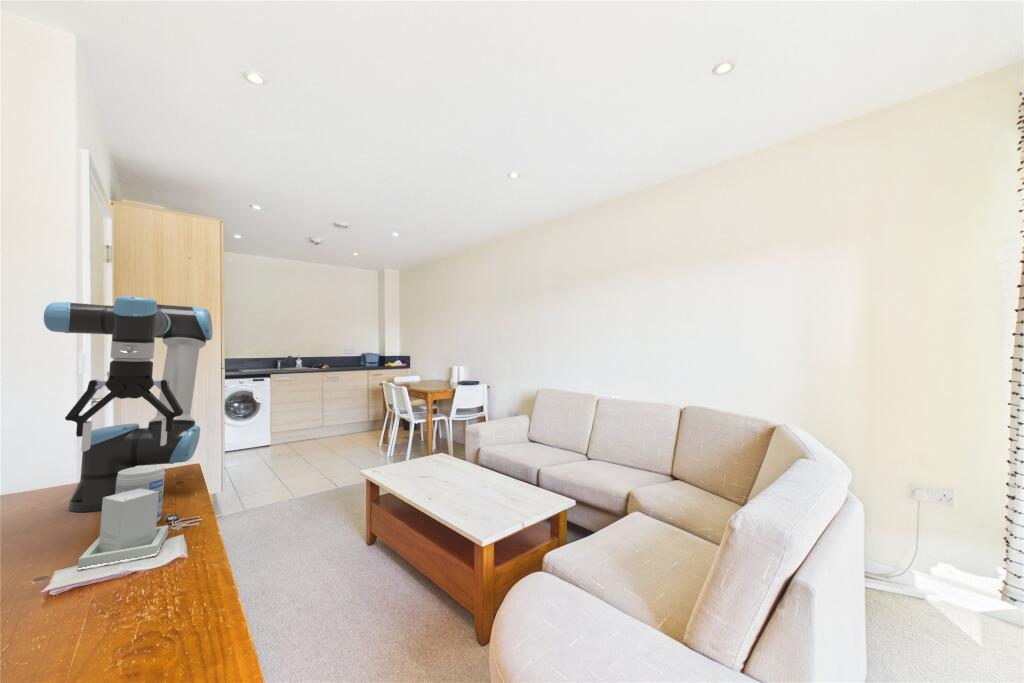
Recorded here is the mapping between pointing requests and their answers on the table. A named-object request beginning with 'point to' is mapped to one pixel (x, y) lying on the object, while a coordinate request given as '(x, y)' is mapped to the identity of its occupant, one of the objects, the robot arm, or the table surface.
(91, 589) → the table surface
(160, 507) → the supplement tub
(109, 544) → the supplement box
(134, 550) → the holder tray
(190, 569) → the table surface
